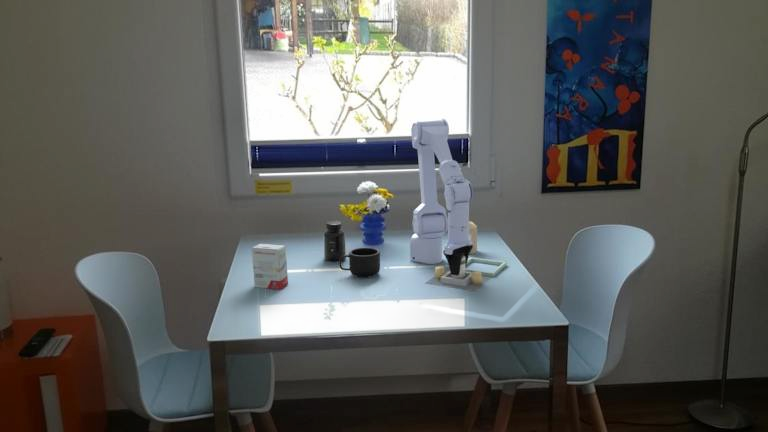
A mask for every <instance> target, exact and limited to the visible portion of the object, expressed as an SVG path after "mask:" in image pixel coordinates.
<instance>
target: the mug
mask: <svg viewBox="0 0 768 432" xmlns="http://www.w3.org/2000/svg"><path fill="white" fill-rule="evenodd" d="M345 257H346V258H348V259H349V261H348V262H349V263H348V264H349V268H348V267H347V268H346V267H343V266H342V263H343V261H342V260H343V258H345ZM338 264H339V268H340V270H341V271H350V273H351V275H353V276H355V277H357V278H361V277H362V278H363V279H367V278H373V277H374V276H376V275H378V274H379V273H380V270H381V251H380V250H379V249H378V248H373V247H357V248H354V249H351V250H350V251H349V253H348V254H346V255H344V256H342V257H341V259H340V262H338ZM362 278H361V279H362Z"/></svg>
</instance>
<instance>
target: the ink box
mask: <svg viewBox="0 0 768 432" xmlns="http://www.w3.org/2000/svg"><path fill="white" fill-rule="evenodd" d="M286 251H287V250H286V245H281V244H271V243H270V244H269V243H258V244H257V245H254V246H253V247H252V248H251V254H252V255H251V256H252V271H253V280H254V281H253V283H254V284H253V285H254V288H259V289H260V288H261V289H269V290H270V289H272V290H283V289H284V288H286V287H287V286H288V285H289V281H288V280H289V278H288V264H287V263H288V262H287V252H286Z"/></svg>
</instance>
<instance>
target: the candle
mask: <svg viewBox="0 0 768 432" xmlns="http://www.w3.org/2000/svg"><path fill="white" fill-rule="evenodd" d="M469 235H471V241H472V242H473V244H472V245H473V248H472V250H471V252H470V254H469V255H473V254H476V253H477V252H478V250H477V249H478V225H476V224H475V223H474V222H473V221H471V220H469Z"/></svg>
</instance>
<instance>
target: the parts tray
mask: <svg viewBox="0 0 768 432" xmlns="http://www.w3.org/2000/svg"><path fill="white" fill-rule="evenodd" d="M472 262H473V263H479V264H487V265H494V266H498V267H496V268H495V269H494V270H492V271H487V270H486V271H485V270H479V269H470V268H465V272H471V273H472V272H474V271H478V272H481V273H482V277H489V278H491V277H492V278H494V277H495V276H496V275H498V274H499V273H500V272H501V271H502V270H503V269H505V268H506V267H507V266H508V262H507V261H500V260H494V259H486V258H485V259H484V258H478V257H468V260H467V265H466V267H467V266H468V265H469V264H471V263H472Z"/></svg>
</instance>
